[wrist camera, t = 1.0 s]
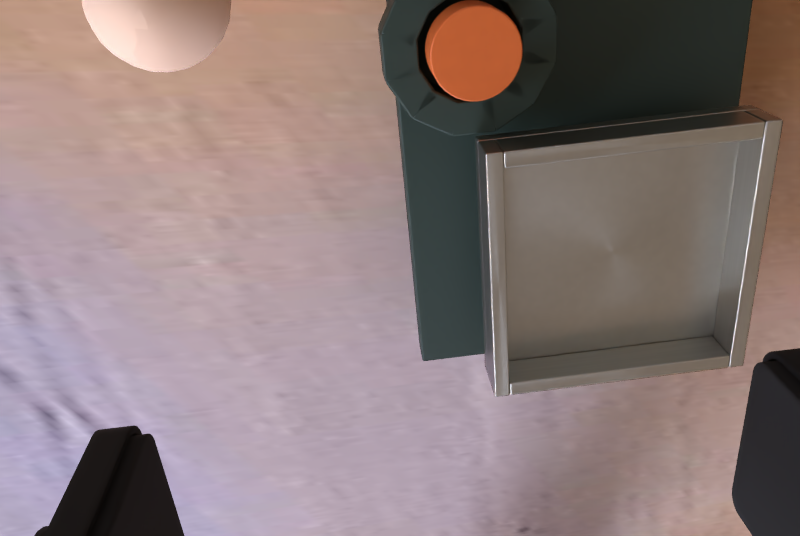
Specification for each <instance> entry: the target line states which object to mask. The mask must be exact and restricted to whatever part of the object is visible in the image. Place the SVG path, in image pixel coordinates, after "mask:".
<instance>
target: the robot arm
mask: <svg viewBox="0 0 800 536" xmlns="http://www.w3.org/2000/svg"><path fill="white" fill-rule="evenodd" d="M732 498H733V503H734V506H735V509H736V511H737V513H738V515H739V516H740V518H741V519H742V521H743V522H744V524H745V525H746V527H747V528H748V530H749V531H750V533H751V534H752V536H800V348H799V349H791V350H782V351H773V352H769V353H767V354H766V355H765V357H764V359H763V362H760V363H757V364H756V366H755V367H754V370H753V375H752V381H751V386H750V392H749V397H748V403H747V409H746V414H745V420H744V426H743V431H742V437H741V442H740V448H739V454H738V459H737V465H736V471H735V476H734V482H733V488H732ZM35 536H184V533H183V530H182V527H181V524H180V520H179V517H178V514H177V511H176V507H175V504H174V501H173V498H172V495H171V491H170V488H169V485H168V482H167V479H166V475H165V472H164V469H163V466H162V463H161V459H160V456H159V453H158V450H157V447H156V443H155V440H154V438H153V436H152V435H151V434H142V433H141V431H140V429H139V428H138V427H137V426H127V427H119V428H110V429H102V430H98V431H96V432H95V433H94V434H93V436H92V437H91V439H90V442H89V444H88V446H87V448H86V450H85V452H84V454H83V456H82V458H81V460H80V462H79V464H78V466H77V469H76V471H75V473H74V475H73V477H72V479H71V481H70V483H69V485H68V487H67V489H66V491H65V493H64V495H63V498H62V500H61V502H60V504H59V506H58V508H57V510H56V512H55V514H54V516H53V518H52V520H51V522H50V525H49V526H45V527H43V528H41V529H40V530H39V531H37V533H36V534H35Z"/></svg>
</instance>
